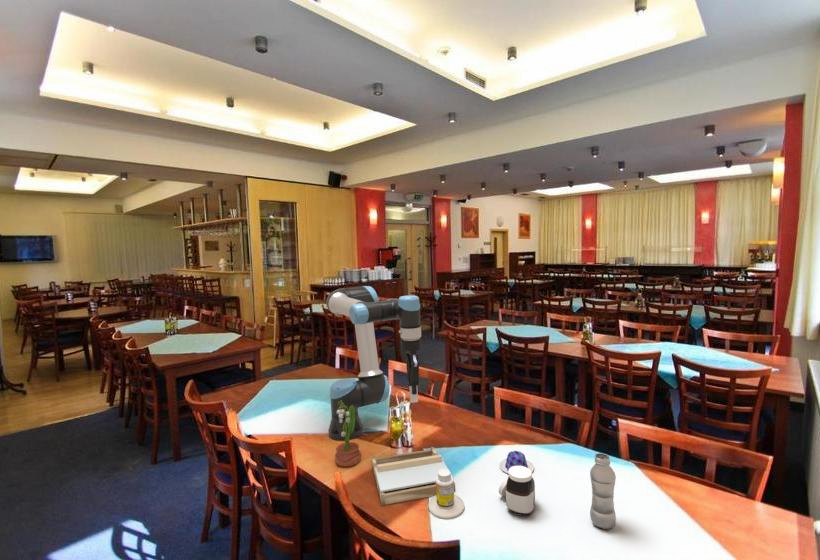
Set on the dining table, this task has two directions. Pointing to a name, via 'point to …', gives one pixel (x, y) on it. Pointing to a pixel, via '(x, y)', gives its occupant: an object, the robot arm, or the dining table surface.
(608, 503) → the plastic bottle
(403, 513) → the dining table surface
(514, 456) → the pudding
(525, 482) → the spread jar
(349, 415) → the potted flower
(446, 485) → the supplement bottle
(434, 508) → the saucer
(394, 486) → the lid
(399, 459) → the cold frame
